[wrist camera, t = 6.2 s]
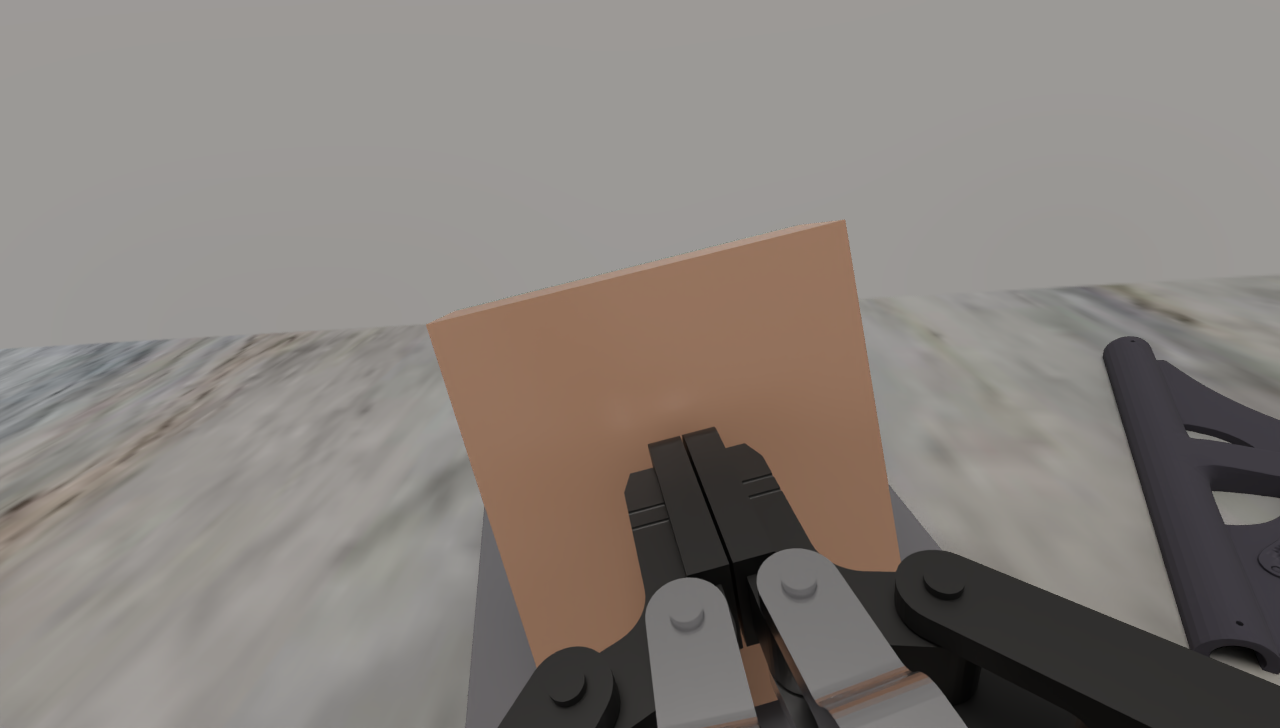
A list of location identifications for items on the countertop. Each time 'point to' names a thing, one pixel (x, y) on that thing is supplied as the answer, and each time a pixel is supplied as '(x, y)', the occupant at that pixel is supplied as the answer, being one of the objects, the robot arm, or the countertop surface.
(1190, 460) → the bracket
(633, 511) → the robot arm
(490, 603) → the mat
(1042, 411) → the countertop surface
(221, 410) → the countertop surface
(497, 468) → the tile
